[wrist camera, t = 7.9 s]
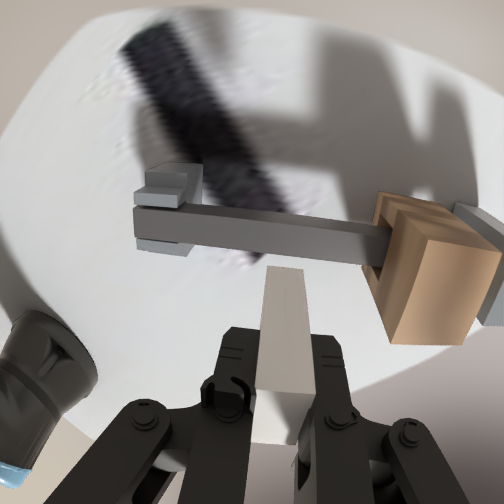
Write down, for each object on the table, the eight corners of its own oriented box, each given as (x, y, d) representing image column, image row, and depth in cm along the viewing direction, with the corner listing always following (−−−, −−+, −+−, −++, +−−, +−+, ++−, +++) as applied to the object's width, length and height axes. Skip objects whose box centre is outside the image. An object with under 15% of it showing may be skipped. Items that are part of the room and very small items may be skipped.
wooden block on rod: (361, 267, 22) (390, 343, 14) (378, 191, 20) (428, 239, 12) (417, 274, 22) (461, 345, 14) (437, 203, 19) (502, 253, 12)
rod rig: (167, 231, 25) (117, 286, 17) (166, 162, 23) (106, 190, 15) (461, 268, 24) (508, 326, 16) (480, 208, 21) (541, 251, 13)
